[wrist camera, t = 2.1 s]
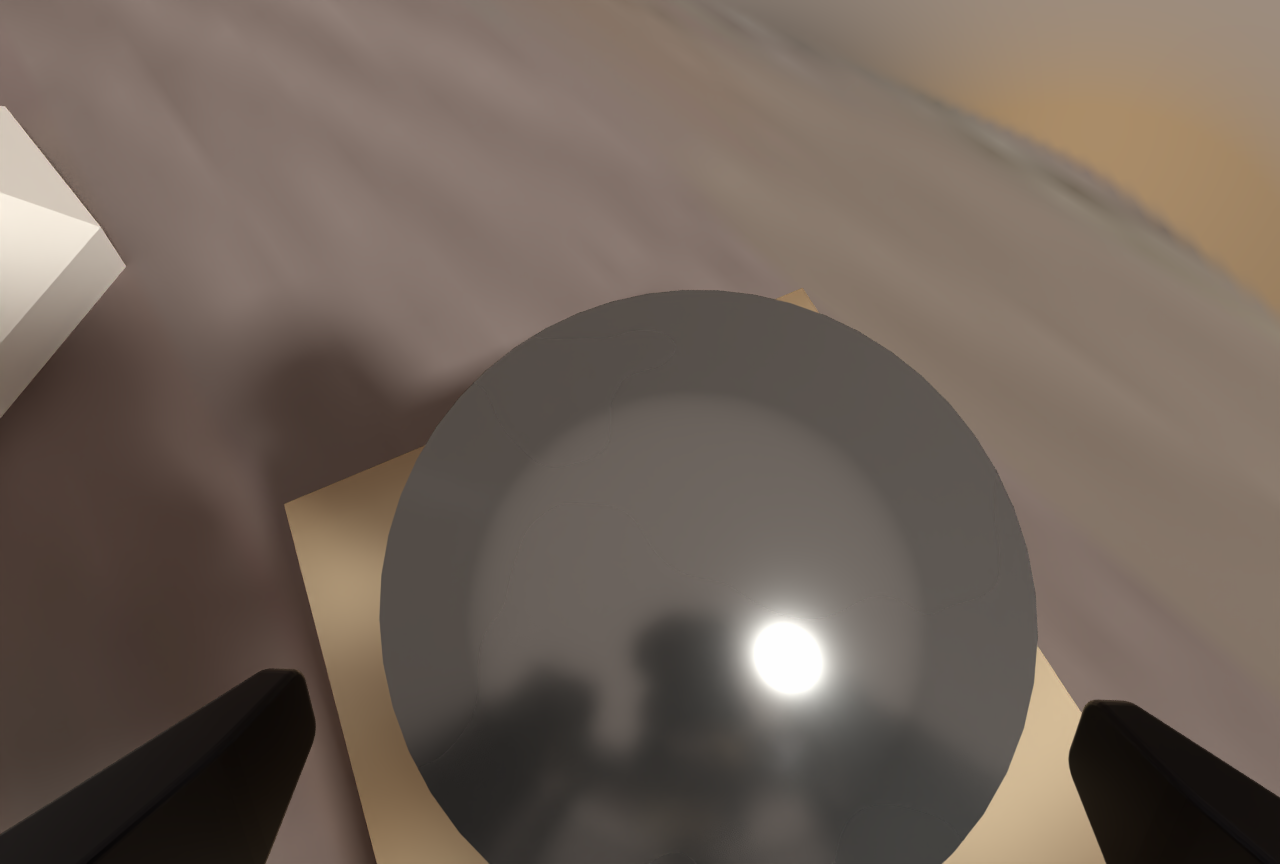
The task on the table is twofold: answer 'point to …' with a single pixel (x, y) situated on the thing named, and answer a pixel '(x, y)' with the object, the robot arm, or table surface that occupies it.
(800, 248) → the table surface
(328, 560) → the block
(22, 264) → the white tetrapod block
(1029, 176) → the table surface
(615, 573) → the steel pin
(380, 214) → the table surface
